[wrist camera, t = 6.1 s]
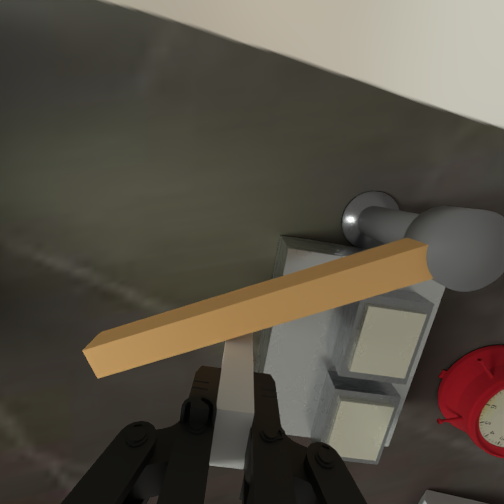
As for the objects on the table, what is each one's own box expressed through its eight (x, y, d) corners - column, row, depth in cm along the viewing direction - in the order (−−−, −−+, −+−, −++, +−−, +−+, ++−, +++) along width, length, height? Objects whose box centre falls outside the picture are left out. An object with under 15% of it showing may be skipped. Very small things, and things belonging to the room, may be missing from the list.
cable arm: (391, 191, 23) (512, 198, 12) (399, 236, 24) (518, 277, 13) (145, 269, 24) (68, 335, 14) (163, 309, 25) (103, 399, 15)
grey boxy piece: (251, 387, 28) (252, 456, 21) (291, 176, 23) (310, 174, 16) (364, 401, 28) (402, 474, 21) (427, 200, 23) (506, 207, 16)
